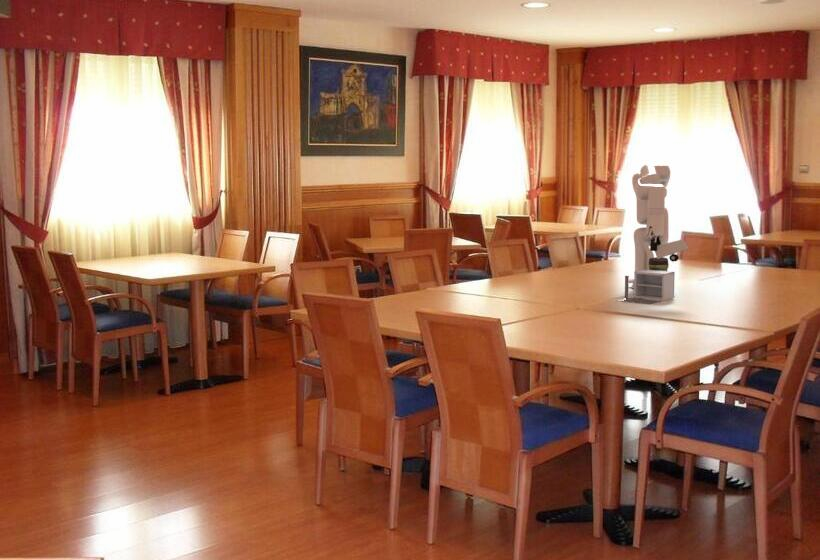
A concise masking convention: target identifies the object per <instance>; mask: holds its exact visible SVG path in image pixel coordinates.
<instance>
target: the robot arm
mask: <svg viewBox="0 0 820 560" xmlns="http://www.w3.org/2000/svg"><path fill="white" fill-rule="evenodd" d="M670 179H671V169H670V167H669V165H668V164H665V163H647V164H644V165H643V166H642V167H641V168H640V170H639V172H636V173H635V174H633V175H632V181H631V183H632V184H631V185H632V188H633V192H634V194H635V199H636V221H637V224H639V225H643V226H645V227H639V228H636V229H635V230H634V231H633V242H634V271H640V270H650V269H649V266H648V265H649V259H650V258H655V254H654V252H655V251H657V245H661V244H665V243H669V212H668V211H669V210H668V208H667V207H665V199H666V198H667V194H668V189H667V187H668V184H669V182H670ZM628 284H632V285H631V289H634V278H633V279H629V280H628Z"/></svg>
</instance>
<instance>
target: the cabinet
mask: <svg viewBox="0 0 820 560" xmlns="http://www.w3.org/2000/svg"><path fill="white" fill-rule="evenodd" d="M633 273H634V278H633V279H634V288H633V298H637V299H639V298H642V299H647V300H649V299H650V300H657V301H661V302H665V301H666V302H667V301H669V300H673V299H674V300H675V271H670V270H669V271H668V270H667V271H657V270H640V271H635V270H634V271H633Z"/></svg>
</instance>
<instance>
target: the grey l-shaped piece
mask: <svg viewBox="0 0 820 560" xmlns="http://www.w3.org/2000/svg"><path fill="white" fill-rule="evenodd" d="M629 277H630V276H629V275H625V276H624V298H626V300H624V301H627V302H626V303H632V302H634V304H635V303H636V304H641V305H642V304H644V305H652V304H656V303H661V302H662V301H659V300H649V299H639V298H634V297H629Z"/></svg>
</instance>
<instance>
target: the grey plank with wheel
mask: <svg viewBox="0 0 820 560" xmlns="http://www.w3.org/2000/svg"><path fill="white" fill-rule="evenodd" d="M689 249H690V248H689V245H688V244H687V242H686V241H685V240H683V239H679V240H674V241H670V242H668V243H665V244H661V245H657V251H654V253H655V256H656V257H657V259H659V258H662V257H664V258H666V257H668V256H669V261H671V262H677V261H678V260H679V255H678V254H677V253H679V252H683V251H686V250H689Z"/></svg>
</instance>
